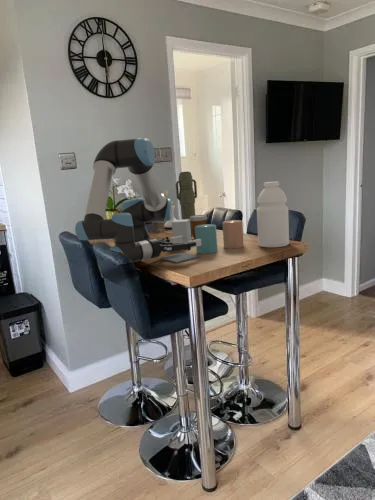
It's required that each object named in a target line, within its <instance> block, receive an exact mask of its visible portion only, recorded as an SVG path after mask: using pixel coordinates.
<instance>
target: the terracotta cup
mask: <svg viewBox="0 0 375 500" xmlns="http://www.w3.org/2000/svg"><path fill="white" fill-rule="evenodd" d="M222 235H223V237H222V239H223V248H225V249H240V248H243V247H244V245H245V244H244V243H245V242H244V225H243V220H240V219H239V220H238V219H237V220H236V219H235V220H233V219H231V220H226V221H222Z"/></svg>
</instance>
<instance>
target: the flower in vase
mask: <svg viewBox="0 0 375 500" xmlns="http://www.w3.org/2000/svg"><path fill="white" fill-rule="evenodd" d="M161 193H162V194H163V195H164V196H165V197H166V199H167V198H168V195H169V190H168V189H167V188H166V189H164V190H163V191H162V192H161ZM173 204H174V201H173V200H171V219H170V220H169V221H165V223H164V225H163V227H165V228H169V229H172V222H173V221H175V220H178V219H176V217H175V215H174V211H175V207H176V206H175V205H173Z"/></svg>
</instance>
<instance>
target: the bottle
mask: <svg viewBox="0 0 375 500" xmlns="http://www.w3.org/2000/svg"><path fill="white" fill-rule="evenodd" d="M279 186H280V182H279V181H265V182H263V187H264V188H263V189H262V190H261V191H260V193H259V195H258V197H257V200H256V203H257V204H258V207H257V208H256V220H257V221H256V224H257V226H256V227H257V245H258V246H259V247H263V248H281V247H286V246H288V245H290V225H289V223H290V221H289V207H288V206H287V204H286V203H287V202H288V198H287V195H286V193H285V192H284V190H283V189H282V188H281V187H279Z"/></svg>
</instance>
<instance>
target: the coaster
mask: <svg viewBox="0 0 375 500" xmlns="http://www.w3.org/2000/svg"><path fill="white" fill-rule="evenodd" d="M200 258H201V256H200V255H196V254H193V253H188V252H178V253H175V254H171V255H167V256H162V257H160V260H164V261H167V262H170V263H175V264H179V263H182V262H188V261H192V260H195V259H200Z"/></svg>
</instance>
